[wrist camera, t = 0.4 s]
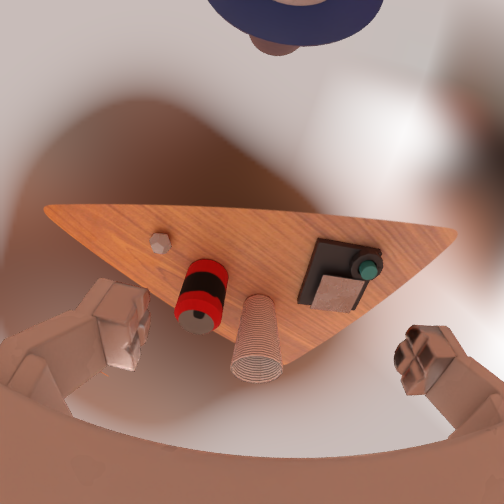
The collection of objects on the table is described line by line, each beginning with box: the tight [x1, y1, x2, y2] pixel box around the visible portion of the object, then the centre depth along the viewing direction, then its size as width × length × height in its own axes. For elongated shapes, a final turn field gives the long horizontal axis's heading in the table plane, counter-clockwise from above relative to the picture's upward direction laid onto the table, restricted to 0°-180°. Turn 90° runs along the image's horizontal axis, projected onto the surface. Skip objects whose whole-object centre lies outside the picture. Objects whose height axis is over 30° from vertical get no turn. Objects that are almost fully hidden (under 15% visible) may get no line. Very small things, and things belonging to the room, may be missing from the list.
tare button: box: [359, 260, 378, 280], centre depth 48 cm, size 3×3×2 cm
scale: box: [297, 238, 383, 310], centre depth 52 cm, size 14×12×3 cm
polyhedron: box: [149, 233, 172, 254], centre depth 49 cm, size 4×4×3 cm
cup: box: [231, 295, 283, 383], centre depth 52 cm, size 8×8×16 cm
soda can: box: [174, 259, 228, 335], centre depth 50 cm, size 8×8×12 cm
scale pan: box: [310, 274, 365, 313], centre depth 52 cm, size 8×8×1 cm
